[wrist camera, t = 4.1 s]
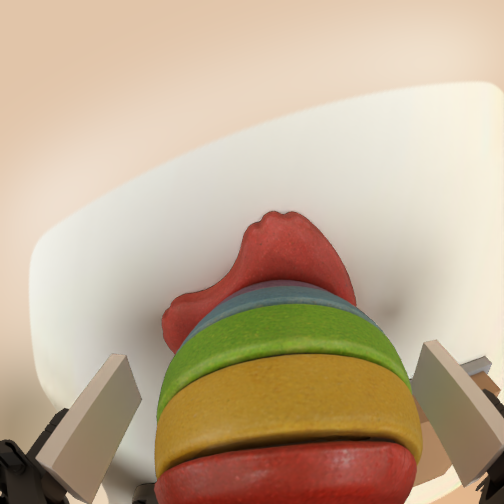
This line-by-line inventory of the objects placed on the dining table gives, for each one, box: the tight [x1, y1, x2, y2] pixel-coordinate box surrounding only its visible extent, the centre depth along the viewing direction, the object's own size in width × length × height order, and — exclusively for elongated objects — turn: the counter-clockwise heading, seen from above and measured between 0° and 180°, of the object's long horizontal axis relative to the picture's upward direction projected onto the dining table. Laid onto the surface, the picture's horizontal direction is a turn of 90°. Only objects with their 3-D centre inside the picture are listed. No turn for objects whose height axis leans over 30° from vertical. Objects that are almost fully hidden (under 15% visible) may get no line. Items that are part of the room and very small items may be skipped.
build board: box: [409, 357, 501, 487], centre depth 16 cm, size 16×14×4 cm
